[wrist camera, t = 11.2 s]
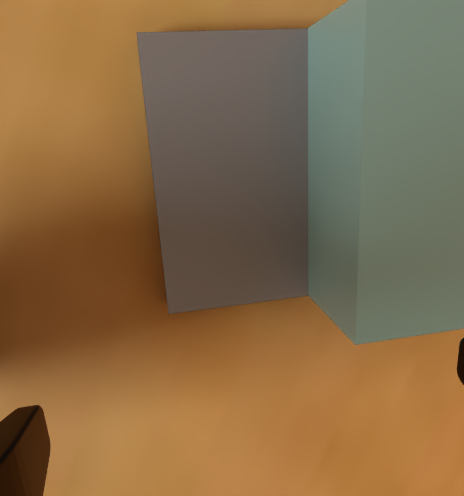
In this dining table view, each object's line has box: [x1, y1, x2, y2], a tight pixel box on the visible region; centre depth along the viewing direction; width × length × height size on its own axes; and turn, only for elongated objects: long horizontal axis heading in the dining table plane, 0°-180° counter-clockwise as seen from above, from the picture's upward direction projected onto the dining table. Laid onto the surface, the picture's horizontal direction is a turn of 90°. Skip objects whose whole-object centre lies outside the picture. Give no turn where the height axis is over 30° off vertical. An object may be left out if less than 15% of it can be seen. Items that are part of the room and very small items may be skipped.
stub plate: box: [137, 28, 308, 314], centre depth 18 cm, size 20×12×4 cm, turn 93°
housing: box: [308, 0, 464, 345], centre depth 17 cm, size 6×12×5 cm, turn 3°
